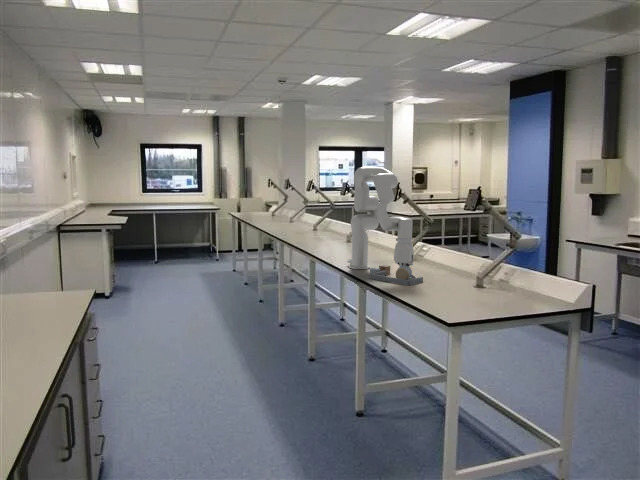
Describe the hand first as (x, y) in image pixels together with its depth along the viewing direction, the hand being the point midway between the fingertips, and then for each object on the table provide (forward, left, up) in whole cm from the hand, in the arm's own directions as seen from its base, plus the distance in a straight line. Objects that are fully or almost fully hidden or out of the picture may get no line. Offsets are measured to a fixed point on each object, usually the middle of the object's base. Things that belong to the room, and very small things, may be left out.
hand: (403, 275), depth 275 cm
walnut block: (-15, +4, -2) cm, 16 cm away
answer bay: (0, -7, -2) cm, 7 cm away
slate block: (-15, -5, -2) cm, 16 cm away
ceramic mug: (+4, -4, -2) cm, 6 cm away
